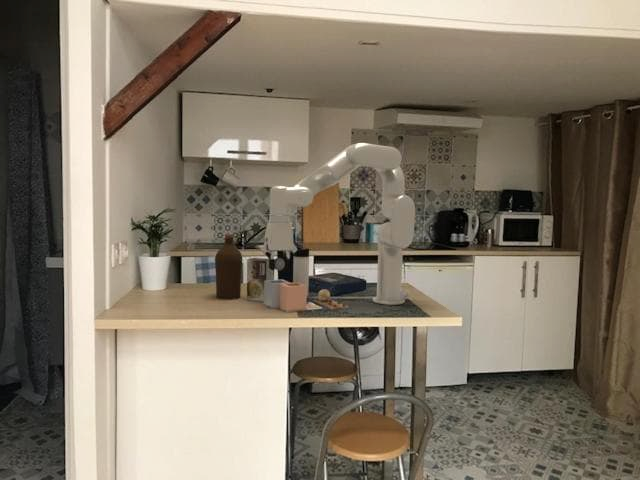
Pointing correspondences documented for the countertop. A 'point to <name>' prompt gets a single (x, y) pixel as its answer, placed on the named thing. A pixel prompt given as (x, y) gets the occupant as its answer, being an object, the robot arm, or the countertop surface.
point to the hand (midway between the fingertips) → (278, 268)
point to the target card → (312, 306)
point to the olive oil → (228, 270)
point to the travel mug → (301, 267)
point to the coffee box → (257, 278)
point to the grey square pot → (272, 292)
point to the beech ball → (324, 295)
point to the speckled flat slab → (331, 304)
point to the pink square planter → (292, 297)
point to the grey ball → (279, 263)
